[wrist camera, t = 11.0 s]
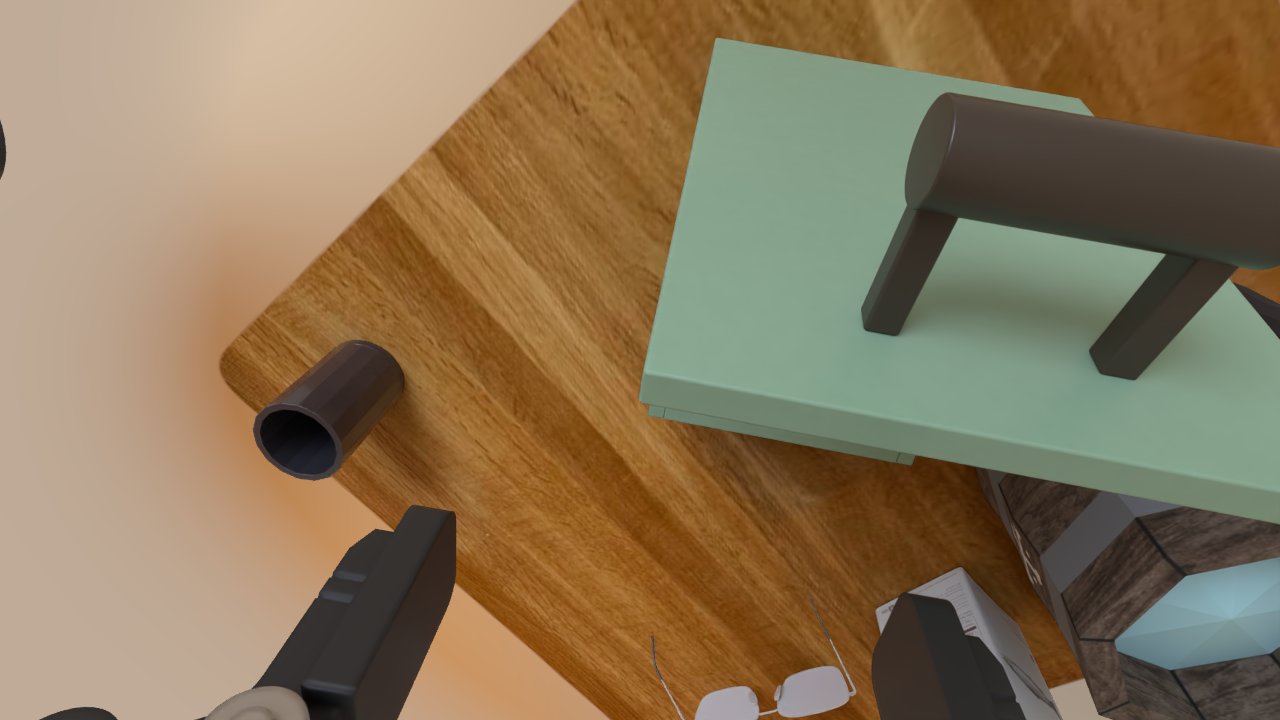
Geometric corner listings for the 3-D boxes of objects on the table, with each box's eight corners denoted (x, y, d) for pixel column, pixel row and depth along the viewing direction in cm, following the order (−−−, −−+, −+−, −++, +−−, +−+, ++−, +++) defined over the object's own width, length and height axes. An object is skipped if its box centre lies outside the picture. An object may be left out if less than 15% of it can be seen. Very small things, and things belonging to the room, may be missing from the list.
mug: (1169, 529, 42) (1369, 764, 29) (947, 520, 44) (1041, 738, 31) (1294, 230, 33) (1668, 375, 20) (1009, 234, 35) (1178, 369, 22)
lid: (1385, 545, 11) (1788, 314, 8) (637, 404, 12) (681, 123, 8) (1067, 121, 24) (1162, -44, 20) (711, 61, 24) (741, -111, 21)
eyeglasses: (691, 697, 56) (686, 741, 52) (648, 629, 53) (640, 670, 50) (852, 660, 51) (859, 705, 48) (813, 584, 49) (817, 625, 45)
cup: (314, 368, 44) (236, 435, 37) (358, 325, 42) (285, 387, 35) (374, 420, 46) (309, 494, 39) (419, 380, 44) (360, 451, 37)
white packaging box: (1019, 622, 47) (1109, 808, 36) (928, 662, 50) (985, 846, 39) (962, 561, 45) (1037, 739, 34) (870, 607, 48) (912, 784, 37)
